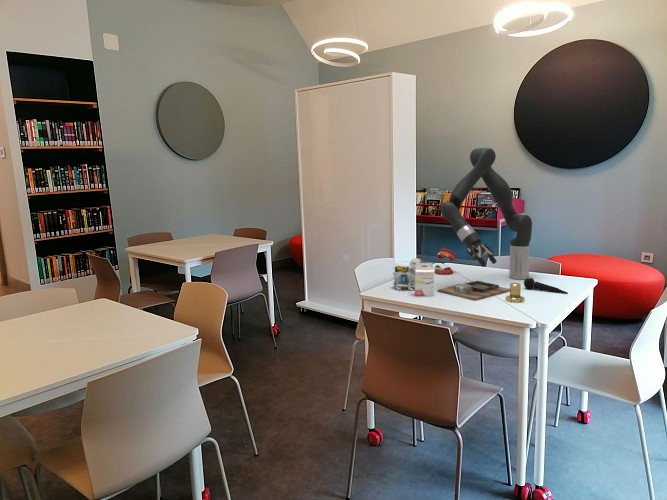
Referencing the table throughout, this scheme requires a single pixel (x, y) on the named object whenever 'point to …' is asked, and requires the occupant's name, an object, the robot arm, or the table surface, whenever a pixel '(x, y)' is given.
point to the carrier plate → (474, 290)
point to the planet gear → (515, 293)
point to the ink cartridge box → (424, 280)
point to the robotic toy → (406, 274)
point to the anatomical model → (443, 254)
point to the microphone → (541, 286)
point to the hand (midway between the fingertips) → (490, 264)
